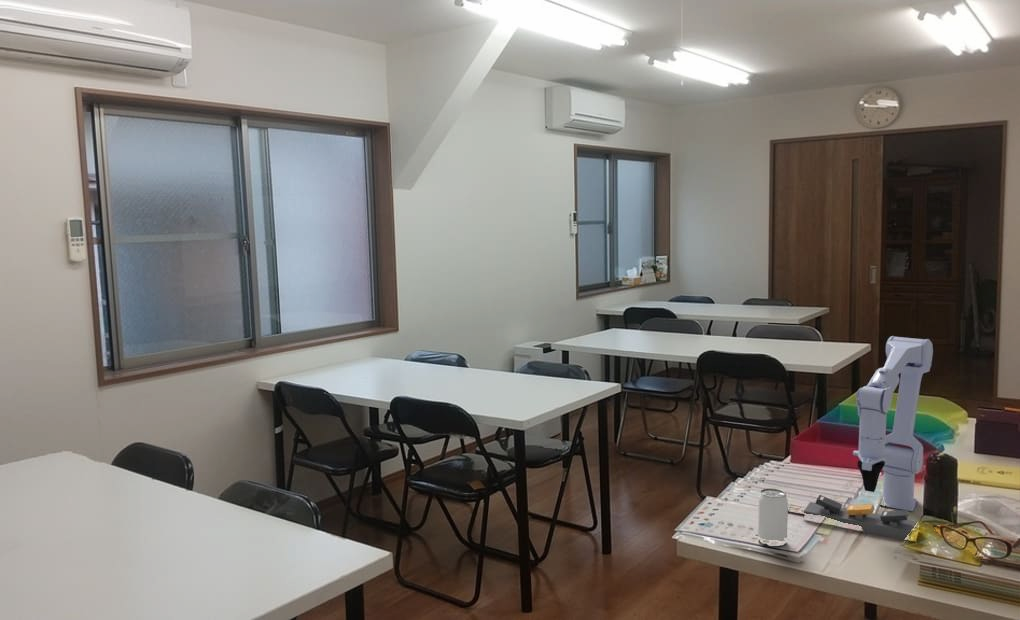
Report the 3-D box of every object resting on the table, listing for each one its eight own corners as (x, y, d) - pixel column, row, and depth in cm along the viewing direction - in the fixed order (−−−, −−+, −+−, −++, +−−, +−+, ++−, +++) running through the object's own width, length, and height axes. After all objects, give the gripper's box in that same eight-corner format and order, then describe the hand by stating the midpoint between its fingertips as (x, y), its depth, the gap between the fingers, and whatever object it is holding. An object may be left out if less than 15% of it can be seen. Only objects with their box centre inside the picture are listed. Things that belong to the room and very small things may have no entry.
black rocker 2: (884, 518, 182) (882, 511, 182) (909, 517, 179) (907, 510, 179) (882, 523, 179) (880, 516, 179) (907, 522, 176) (905, 515, 176)
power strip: (789, 507, 196) (790, 494, 196) (919, 531, 179) (920, 517, 179) (783, 516, 190) (783, 503, 190) (916, 542, 174) (917, 528, 173)
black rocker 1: (817, 500, 190) (819, 494, 190) (840, 510, 187) (842, 504, 187) (814, 505, 187) (816, 499, 187) (837, 515, 184) (839, 508, 184)
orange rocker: (850, 512, 186) (848, 505, 186) (874, 511, 183) (873, 503, 183) (848, 517, 183) (846, 510, 183) (872, 516, 180) (870, 508, 180)
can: (788, 548, 172) (790, 498, 170) (759, 546, 173) (760, 497, 172) (784, 536, 178) (785, 488, 177) (756, 535, 180) (757, 487, 178)
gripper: (859, 426, 188) (856, 478, 189) (848, 441, 176) (846, 496, 178) (890, 430, 184) (887, 483, 186) (882, 446, 172) (879, 502, 174)
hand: (869, 490), depth 181 cm, fingers closed
